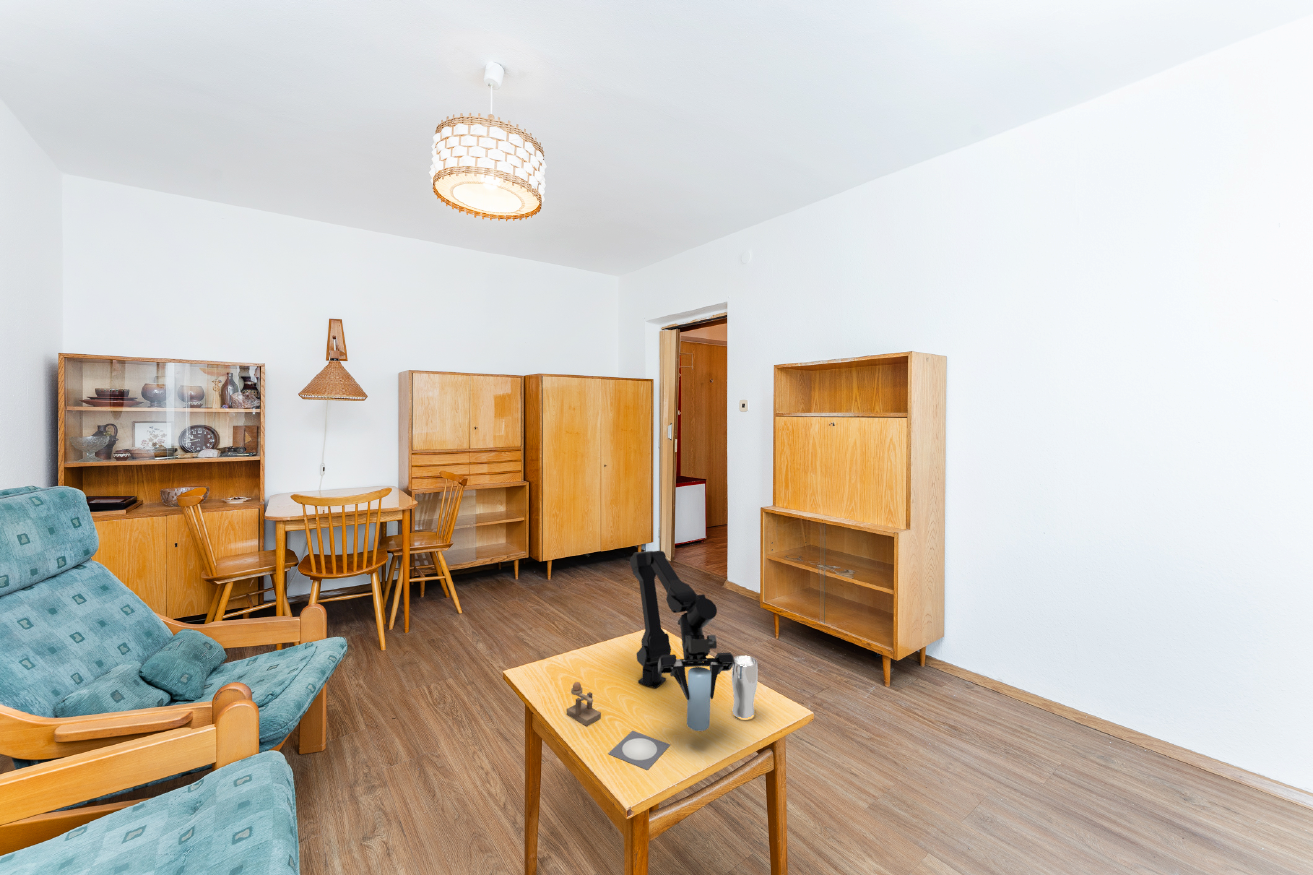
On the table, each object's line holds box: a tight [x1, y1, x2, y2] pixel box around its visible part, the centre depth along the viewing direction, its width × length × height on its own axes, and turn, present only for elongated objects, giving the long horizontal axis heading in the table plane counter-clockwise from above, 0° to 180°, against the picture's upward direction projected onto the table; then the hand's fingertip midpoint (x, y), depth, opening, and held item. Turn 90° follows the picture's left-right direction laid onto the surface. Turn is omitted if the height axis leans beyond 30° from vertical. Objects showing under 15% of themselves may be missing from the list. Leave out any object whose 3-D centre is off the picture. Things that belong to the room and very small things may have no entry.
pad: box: [607, 730, 671, 771], centre depth 129 cm, size 11×11×1 cm
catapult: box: [566, 681, 602, 727], centre depth 143 cm, size 8×5×8 cm, turn 49°
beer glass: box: [731, 655, 759, 718], centre depth 145 cm, size 7×7×15 cm
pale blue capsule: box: [686, 666, 711, 732], centre depth 131 cm, size 6×6×13 cm
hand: (700, 698), depth 129 cm, fingers closed on pale blue capsule, 6 cm apart
